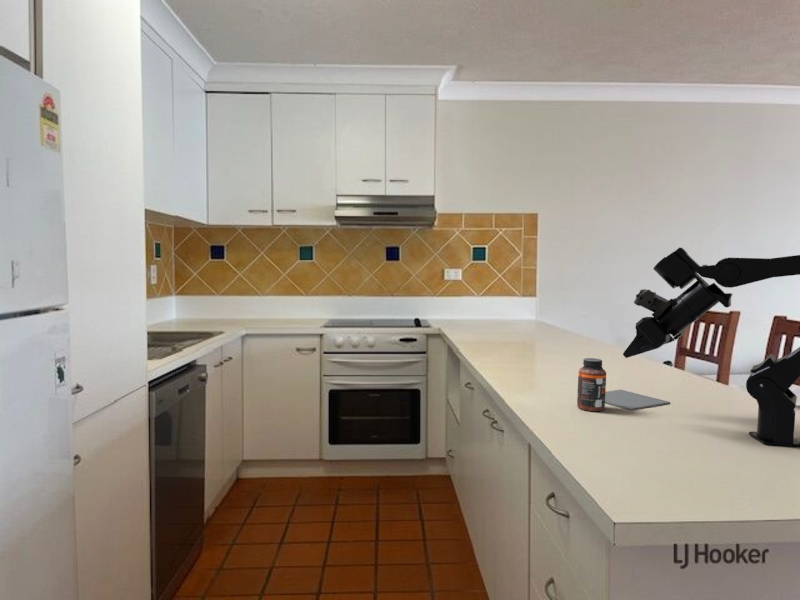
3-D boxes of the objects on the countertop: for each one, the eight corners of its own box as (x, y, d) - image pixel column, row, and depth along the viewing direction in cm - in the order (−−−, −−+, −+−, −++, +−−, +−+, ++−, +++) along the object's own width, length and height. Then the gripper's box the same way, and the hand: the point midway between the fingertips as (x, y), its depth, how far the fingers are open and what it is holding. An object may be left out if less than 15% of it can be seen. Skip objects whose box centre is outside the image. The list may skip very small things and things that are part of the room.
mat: (670, 403, 130) (670, 401, 130) (630, 410, 123) (630, 408, 123) (620, 391, 142) (620, 389, 142) (582, 396, 135) (582, 395, 135)
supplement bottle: (606, 413, 120) (609, 362, 120) (578, 411, 122) (580, 360, 121) (602, 406, 126) (604, 357, 125) (575, 404, 127) (577, 356, 127)
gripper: (671, 276, 121) (617, 321, 129) (649, 277, 106) (590, 328, 114) (709, 314, 117) (651, 359, 124) (692, 320, 102) (628, 371, 110)
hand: (630, 353), depth 118 cm, fingers open, 9 cm apart
